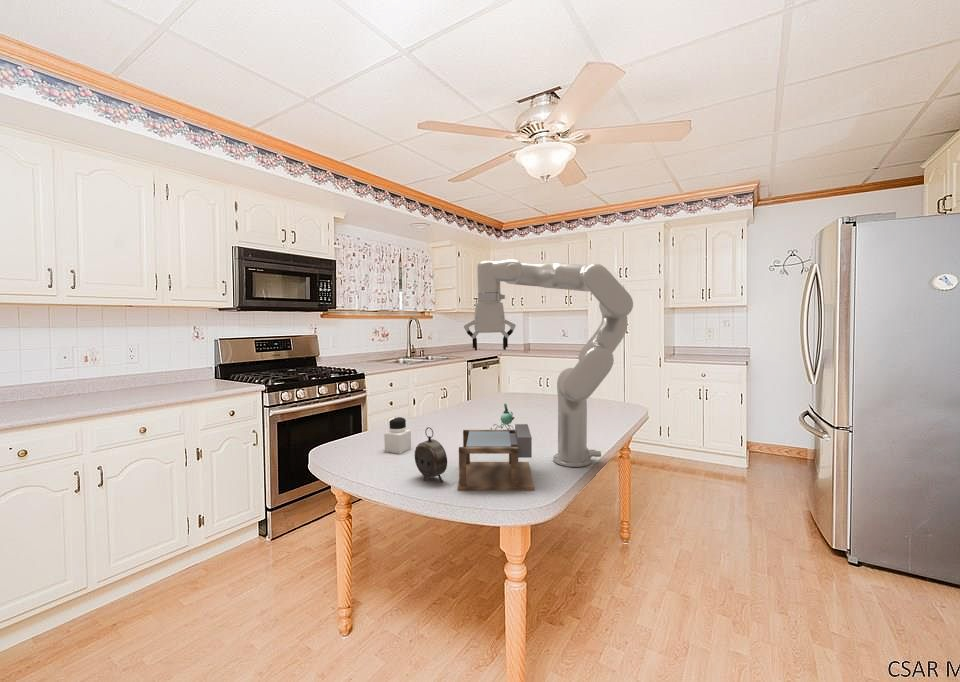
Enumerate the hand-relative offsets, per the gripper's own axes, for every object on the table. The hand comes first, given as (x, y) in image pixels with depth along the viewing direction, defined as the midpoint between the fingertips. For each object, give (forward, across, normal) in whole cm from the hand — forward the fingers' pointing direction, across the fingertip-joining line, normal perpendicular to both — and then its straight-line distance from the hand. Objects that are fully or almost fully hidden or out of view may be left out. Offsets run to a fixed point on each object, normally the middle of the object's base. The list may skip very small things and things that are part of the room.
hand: (490, 349), depth 150 cm
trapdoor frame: (+38, 0, +14) cm, 41 cm away
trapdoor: (+30, -1, +14) cm, 33 cm away
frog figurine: (+38, -6, -28) cm, 48 cm away
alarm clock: (+38, +20, +16) cm, 46 cm away
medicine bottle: (+38, +34, -14) cm, 53 cm away
